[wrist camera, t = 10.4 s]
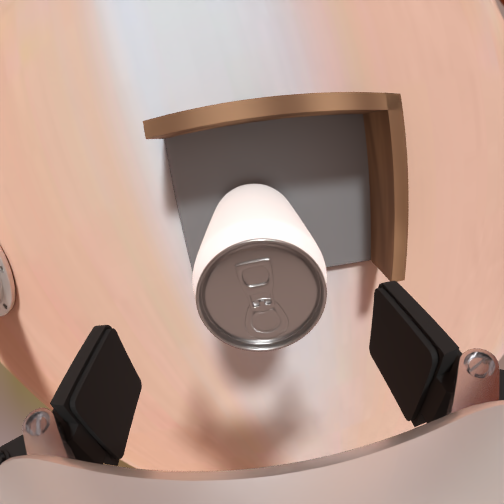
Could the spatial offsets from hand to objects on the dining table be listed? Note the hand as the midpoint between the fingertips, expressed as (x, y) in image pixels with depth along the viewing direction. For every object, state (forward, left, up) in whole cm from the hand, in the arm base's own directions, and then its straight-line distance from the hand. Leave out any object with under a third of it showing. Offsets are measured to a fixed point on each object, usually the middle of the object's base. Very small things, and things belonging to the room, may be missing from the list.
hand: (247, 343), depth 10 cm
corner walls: (+3, +2, -15) cm, 16 cm away
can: (+1, 0, -15) cm, 15 cm away
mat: (+3, +2, -15) cm, 16 cm away
